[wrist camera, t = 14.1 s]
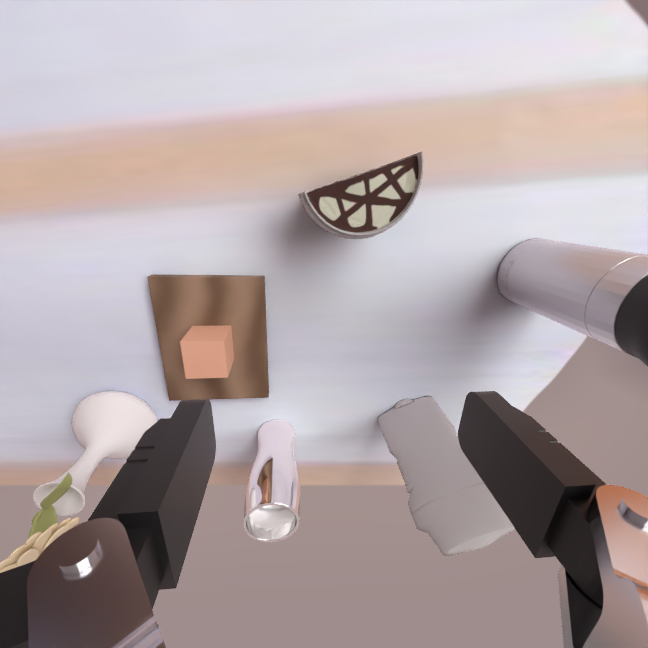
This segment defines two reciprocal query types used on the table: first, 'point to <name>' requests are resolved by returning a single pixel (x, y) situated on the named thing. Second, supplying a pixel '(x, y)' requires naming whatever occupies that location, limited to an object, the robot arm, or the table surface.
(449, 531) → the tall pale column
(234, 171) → the table surface
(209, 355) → the terracotta cube
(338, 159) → the table surface
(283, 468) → the beer glass
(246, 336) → the walnut board
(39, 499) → the flower in vase
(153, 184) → the table surface
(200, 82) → the table surface
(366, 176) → the food container
